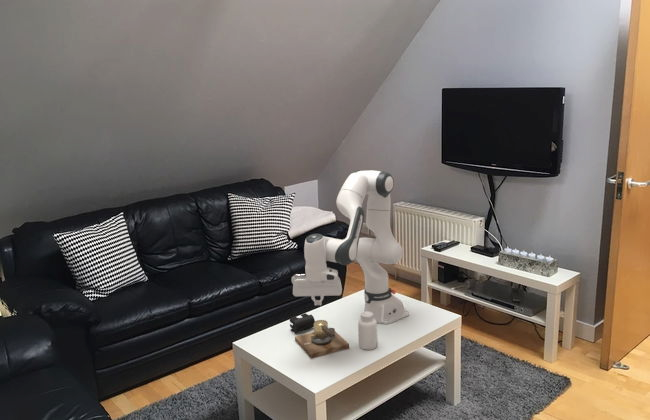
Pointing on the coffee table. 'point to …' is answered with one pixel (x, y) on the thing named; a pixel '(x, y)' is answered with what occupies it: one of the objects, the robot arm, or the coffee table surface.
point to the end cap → (302, 323)
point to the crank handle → (322, 330)
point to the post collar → (321, 341)
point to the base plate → (320, 350)
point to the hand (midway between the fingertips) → (318, 304)
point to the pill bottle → (367, 331)
